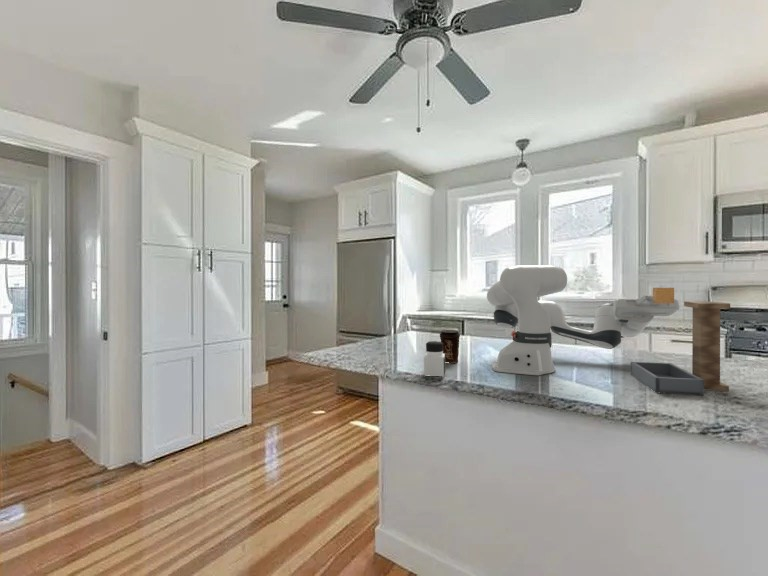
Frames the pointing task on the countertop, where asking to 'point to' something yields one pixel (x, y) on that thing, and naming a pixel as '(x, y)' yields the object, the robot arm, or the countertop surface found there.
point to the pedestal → (707, 343)
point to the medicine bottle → (434, 359)
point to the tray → (667, 378)
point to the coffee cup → (450, 345)
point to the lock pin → (662, 295)
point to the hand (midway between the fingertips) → (651, 297)
